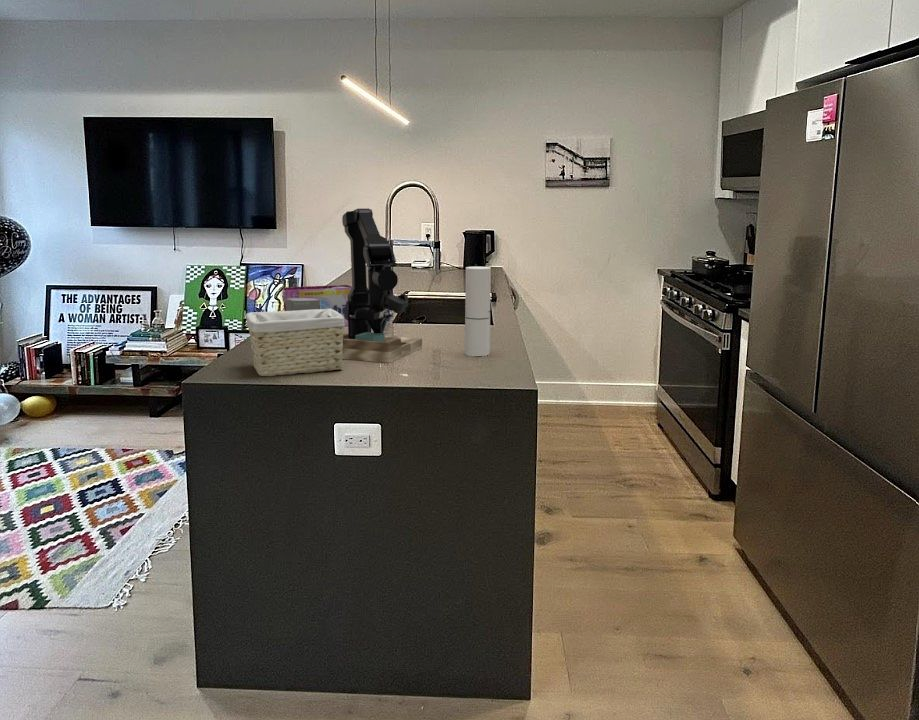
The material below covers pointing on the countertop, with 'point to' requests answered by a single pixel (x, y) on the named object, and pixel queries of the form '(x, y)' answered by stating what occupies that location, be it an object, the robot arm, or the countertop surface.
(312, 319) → the storage basket
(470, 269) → the cylindrical container
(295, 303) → the skincare box
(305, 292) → the gum box
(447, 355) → the countertop surface
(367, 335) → the block
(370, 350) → the wooden tray
